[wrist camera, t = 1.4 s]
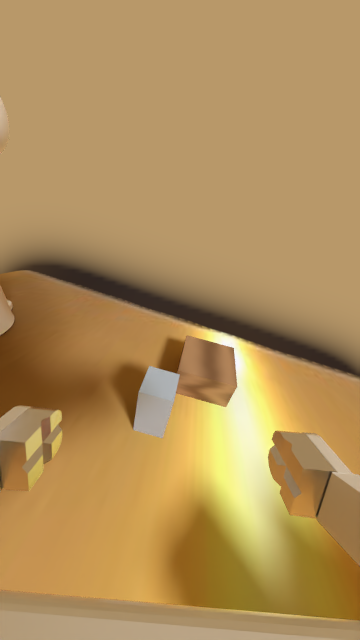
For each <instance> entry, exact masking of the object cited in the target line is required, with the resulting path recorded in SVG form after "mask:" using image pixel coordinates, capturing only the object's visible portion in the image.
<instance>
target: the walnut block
mask: <svg viewBox="0 0 360 640" xmlns="http://www.w3.org/2000/svg"><path fill="white" fill-rule="evenodd" d="M177 374H180V376H179V381H178V385H177V390H176V393H177V394H181V395H185V396H188V397H192V398H195V399H199V400H202V401H206V402H210V403H213V404H217V405H220V406H224V407H226V406H227V404H228V402H229V400H230V398H231V397H232V395H233V393H234V391H235V389H236V388H237V380H236V369H235V358H234V348H232V347H228V346H224V345H220V344H217V343H213V342H209V341H206V340H202V339H198V338H195V337H191V336H186V340H185V343H184V347H183V351H182V354H181V358H180V362H179V366H178V370H177Z"/></svg>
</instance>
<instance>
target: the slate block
mask: <svg viewBox="0 0 360 640" xmlns="http://www.w3.org/2000/svg"><path fill="white" fill-rule="evenodd" d="M179 376H180V374H176V373H173V372H169V371H165V370H162V369H158V368H155V367H151V366H149V368H148V371H147V373H146V375H145V378H144V380H143V383H142V385H141V387H140V390H139V393H138V400H137V407H136V414H135V421H134V428H133V430H136V431H139V432H143V433H146V434H150V435H153V436H156V437H160V438H163V435H164V432H165V429H166V425H167V422H168V419H169V416H170V412H171V409H172V406H173V403H174V398H175V394H176V390H177V385H178V381H179Z"/></svg>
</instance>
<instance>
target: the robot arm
mask: <svg viewBox="0 0 360 640" xmlns="http://www.w3.org/2000/svg"><path fill="white" fill-rule="evenodd" d="M8 139H9V120H8V116H7V112H6V109H5V106H4V104H3V101H2V99H1V97H0V154H1V153H2V152H3V151H4V149H5V147H6V146H7V143H8ZM12 307H13V305H12V302H11V301H9V300H7V299H6V297H5V295H4V292H3V290H2V288H1V286H0V335H1V334H3V333H4V332H6V331H7V330H8V329H9V328H10V327H11V326H12V325H13V323H14V315H13V313H12V312H11V310H12ZM61 420H62V414H61V411H60V410H57V409H48V408H40V407H30V406H21V405H19V406H15V407H14V408H12V409H11V410H10V411H8V412H7V413H6V414H4V415H3V416H2V417H1V418H0V492H1V490H16V491H29V490H30V489H31V488H32V486H33V485H34V483H35V482H36V481H37V479H38V478H39V476H40V475H41V474H42V472H43V464H45V463H46V462H48V461H50V460H51V459H52V458H53V457H54V455H55V454H56V452H57V451H58V448H59V446H60V444H61V440H62V429H61V428H60V426H59V425H58V424H59V422H60V421H61ZM272 440H273V442H274V444H275V445H274V446H273V447H272V448H271V449H270V451H269V456H268V460H269V468H270V471H271V474H272V476H273V479H274V480H275V481H276V482H277V483H278V484H279V485H280V486H281V490H280V494H281V496H282V499H283V501H284V503H285V505H286V507H287V510H288V512H289V514H290V515H294V516H302V517H310V518H317V521H318V522H319V523H320V524H321V525H322V526H323V527H324V528H325V530H326V531H327V532H328V533H329V534H330V535H331V536H332V537H333V538H334V539H335V540H336V541H337V542H338V544H339V545H340V546H341V547H342V548H343V549H344V550H345V551H346V552H347V553H348V554H349V555H350V556H351V558H352V559H353V560H354V561H355V562H356V563H357V564H358V565H359V566H360V476H359V475H357V474H353V473H352V472H351V471H350V470H349V469H348V468H347V467H346V465H345V464H344V463H343V462H342V461H341V460H340V458H339V457H338V456H337V455H336V454H335V453H334V452H333V450H332V449H331V448H330V447H329V446H328V445H327V444H326V442H325V441H324V440H323V439H322V438H321V437H320V436H319V435H317V434H315V433H297V432H285V431H275V432H274V434H273V438H272ZM0 640H360V620H348V619H337V618H325V617H313V616H302V615H290V614H278V613H267V612H255V611H244V610H232V609H221V608H209V607H197V606H186V605H174V604H162V603H150V602H138V601H126V600H115V599H103V598H91V597H79V596H67V595H55V594H43V593H32V592H20V591H8V590H0Z"/></svg>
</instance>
